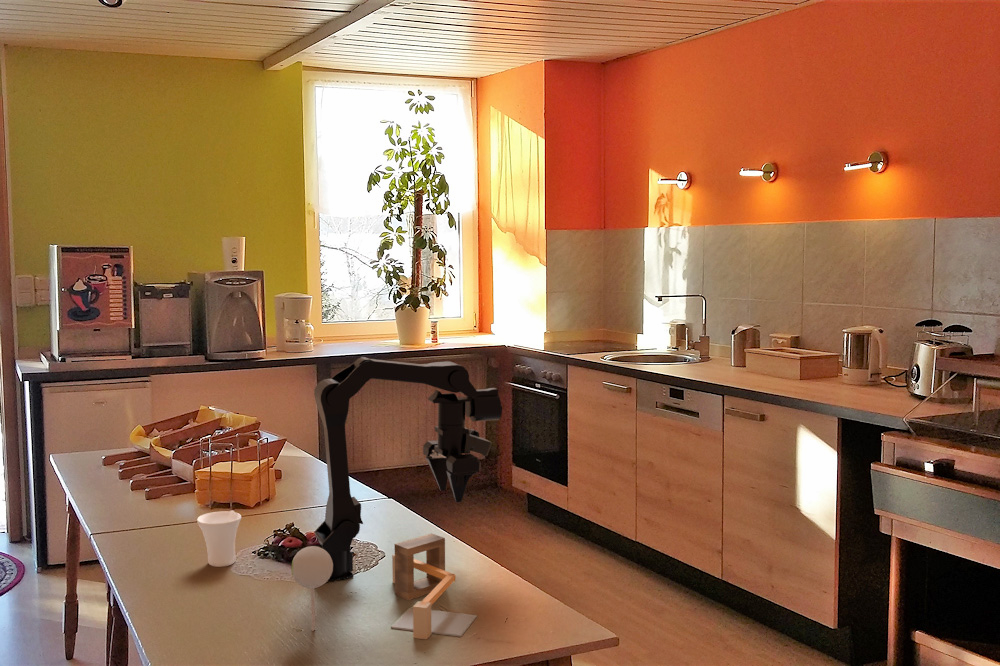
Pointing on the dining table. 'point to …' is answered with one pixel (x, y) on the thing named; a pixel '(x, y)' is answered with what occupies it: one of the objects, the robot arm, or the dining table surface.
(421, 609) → the rail
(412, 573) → the brown rectangular frame
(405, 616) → the mat
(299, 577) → the lollipop
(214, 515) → the cup
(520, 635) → the dining table surface
